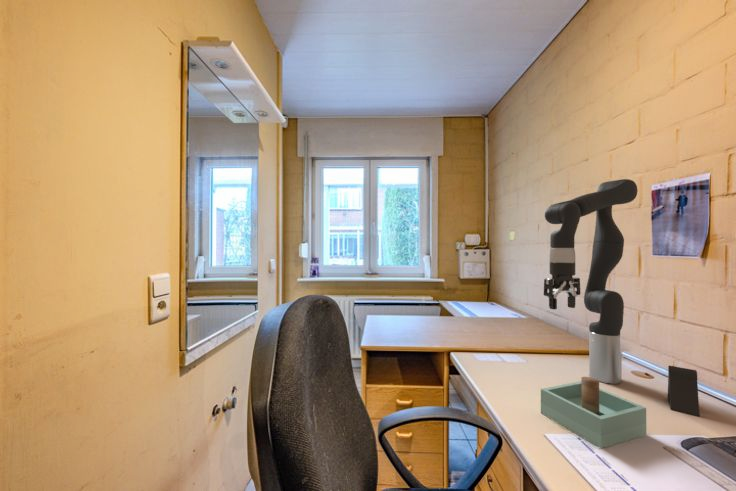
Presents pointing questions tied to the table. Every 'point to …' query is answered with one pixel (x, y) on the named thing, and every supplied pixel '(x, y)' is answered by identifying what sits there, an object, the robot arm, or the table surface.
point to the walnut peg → (590, 394)
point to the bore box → (594, 415)
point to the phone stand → (683, 390)
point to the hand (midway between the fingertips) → (562, 308)
